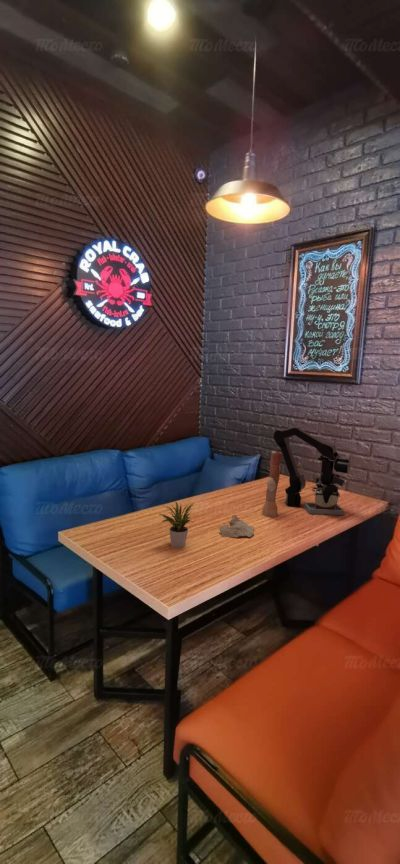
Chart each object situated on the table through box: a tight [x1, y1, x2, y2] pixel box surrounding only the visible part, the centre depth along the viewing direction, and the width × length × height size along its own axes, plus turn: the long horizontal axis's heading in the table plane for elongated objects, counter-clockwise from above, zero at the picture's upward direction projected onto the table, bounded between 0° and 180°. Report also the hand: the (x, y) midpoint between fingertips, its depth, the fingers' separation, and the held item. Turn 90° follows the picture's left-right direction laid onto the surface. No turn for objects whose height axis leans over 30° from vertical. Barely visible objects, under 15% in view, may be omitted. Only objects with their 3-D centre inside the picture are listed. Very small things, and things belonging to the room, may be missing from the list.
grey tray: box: [303, 502, 345, 517], centre depth 207 cm, size 17×11×2 cm, turn 91°
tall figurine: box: [261, 450, 282, 518], centre depth 198 cm, size 11×7×30 cm
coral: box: [219, 514, 255, 539], centre depth 175 cm, size 18×16×5 cm
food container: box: [313, 488, 341, 510], centre depth 207 cm, size 12×6×10 cm, turn 91°
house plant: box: [158, 500, 196, 549], centre depth 159 cm, size 14×14×16 cm
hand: (324, 501), depth 207 cm, fingers closed on food container, 6 cm apart
